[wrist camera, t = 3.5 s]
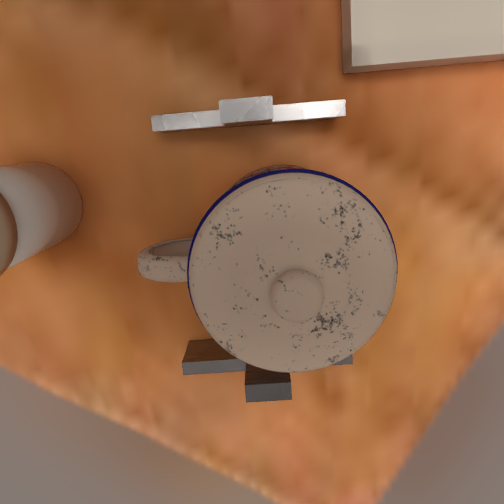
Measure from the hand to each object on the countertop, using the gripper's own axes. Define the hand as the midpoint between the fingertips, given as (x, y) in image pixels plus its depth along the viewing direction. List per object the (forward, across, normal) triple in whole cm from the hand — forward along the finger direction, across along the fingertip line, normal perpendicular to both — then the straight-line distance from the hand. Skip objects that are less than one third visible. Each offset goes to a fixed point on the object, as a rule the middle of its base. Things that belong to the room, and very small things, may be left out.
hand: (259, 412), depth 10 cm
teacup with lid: (+18, 0, 0) cm, 18 cm away
